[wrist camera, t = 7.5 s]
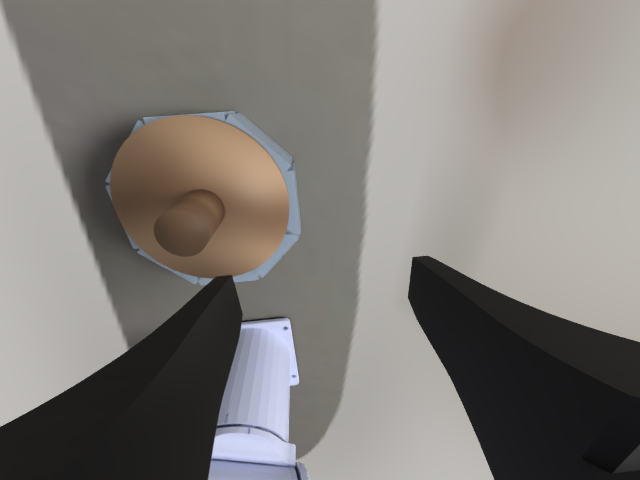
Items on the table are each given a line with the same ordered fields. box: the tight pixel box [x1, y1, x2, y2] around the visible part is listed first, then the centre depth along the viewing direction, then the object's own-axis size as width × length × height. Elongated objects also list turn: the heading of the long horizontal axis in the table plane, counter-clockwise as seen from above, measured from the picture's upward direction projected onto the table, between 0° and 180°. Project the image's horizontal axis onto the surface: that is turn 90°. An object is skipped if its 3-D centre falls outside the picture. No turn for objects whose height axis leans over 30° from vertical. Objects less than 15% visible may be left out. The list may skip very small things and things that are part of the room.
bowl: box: [105, 111, 301, 286], centre depth 18 cm, size 11×11×3 cm
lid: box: [110, 115, 289, 279], centre depth 14 cm, size 10×10×4 cm
